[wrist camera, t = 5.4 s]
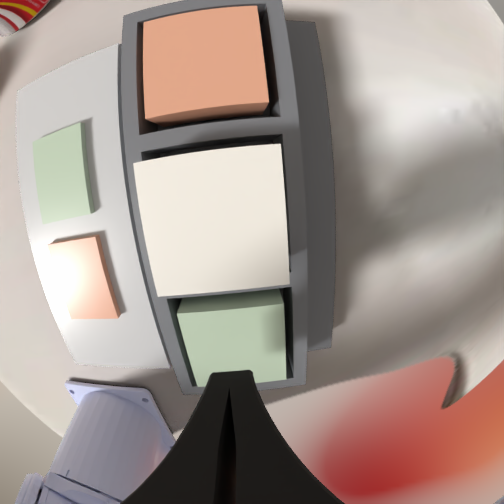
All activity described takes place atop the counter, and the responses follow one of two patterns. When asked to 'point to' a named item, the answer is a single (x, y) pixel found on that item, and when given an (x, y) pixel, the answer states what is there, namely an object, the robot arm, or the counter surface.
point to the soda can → (18, 14)
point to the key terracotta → (204, 66)
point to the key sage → (235, 334)
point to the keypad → (126, 200)
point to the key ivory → (215, 219)
